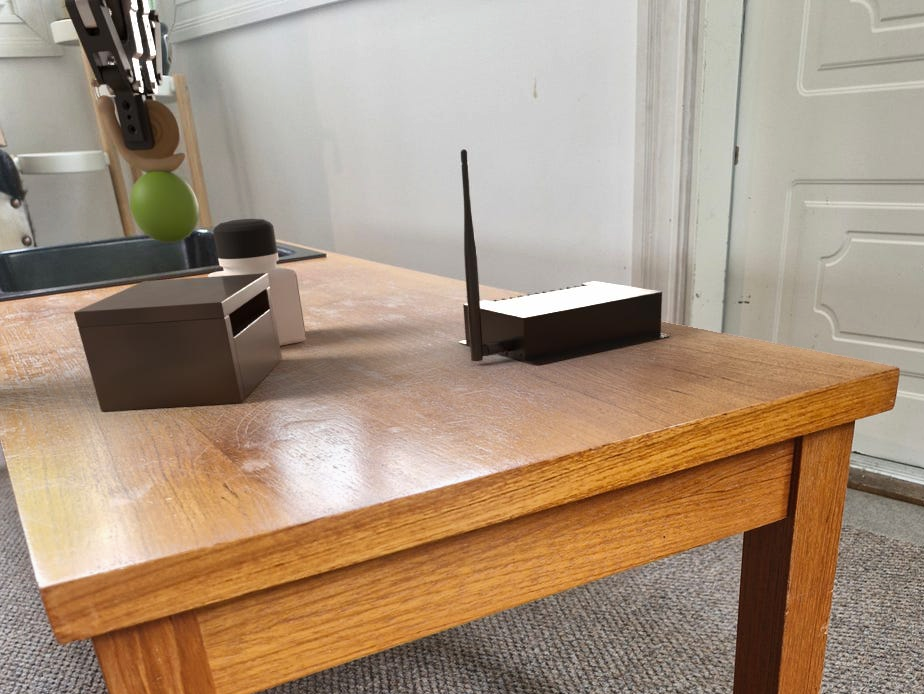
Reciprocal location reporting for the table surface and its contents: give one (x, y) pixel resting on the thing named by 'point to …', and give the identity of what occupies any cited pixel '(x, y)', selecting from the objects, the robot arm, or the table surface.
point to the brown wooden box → (181, 342)
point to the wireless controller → (553, 313)
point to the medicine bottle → (262, 270)
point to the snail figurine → (156, 174)
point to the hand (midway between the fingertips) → (146, 148)
